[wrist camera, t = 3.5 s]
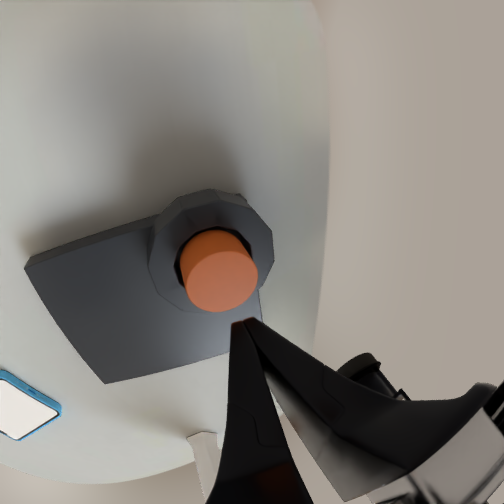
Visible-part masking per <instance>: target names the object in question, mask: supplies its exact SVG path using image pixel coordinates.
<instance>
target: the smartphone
mask: <svg viewBox="0 0 504 504" xmlns="http://www.w3.org/2000/svg"><path fill="white" fill-rule="evenodd" d="M61 410H62V407H61V405H60V404H59V403H57V402H55V401H54V400H52V399H50V398H48V397H46V396H45V395H43V394H41V393H40V392H38V391H36V390H35V389H33V388H31V387H30V386H28V385H27V384H25V383H23V382H22V381H20V380H19V379H17V378H16V377H14V376H13V375H12V374H10V373H8V372H6V371H4V370H0V433H2V434H4V435H6V436H7V437H9V438H11V439H13V440H16V441H21V440H23V439H24V438H26V437H28V436H29V435H31V434H33V433H34V432H36V431H38V430H39V429H41V428H42V427H44V426H46V425H47V424H49V423H51V422H52V421H54V420H55V419H57V418H59V417H60V416H61Z"/></svg>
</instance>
